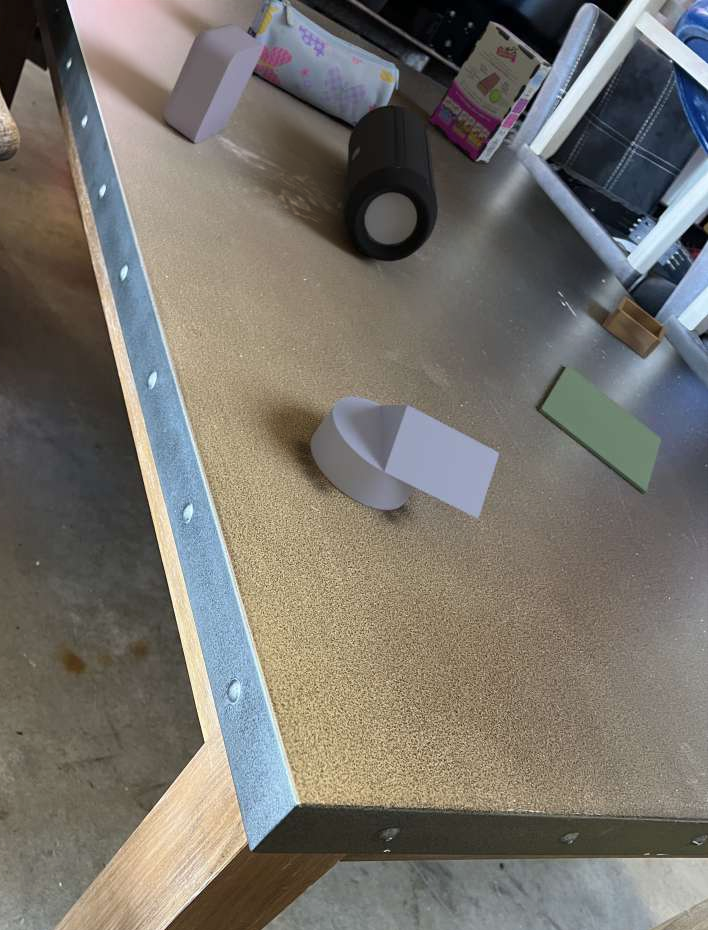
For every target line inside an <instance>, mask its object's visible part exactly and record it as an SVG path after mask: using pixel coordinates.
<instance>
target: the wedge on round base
mask: <svg viewBox="0 0 708 930" xmlns="http://www.w3.org/2000/svg"><path fill="white" fill-rule="evenodd" d="M310 452H311V456H312V458H313V460H314V462H315V464H316V465H317V468H318V469H319V470H320V472H321V473H322V475H324V476H325V478H326V479H327V480H328V481H329V482H330V483H331V484H332V485H333V486H334V487H335V488H337V489H338V491H340V492H341V493H343V494H344V495H345V496H346V497H349V498H350V499H352V500H353V501H356V502H358V503H359V504H362V505H364V506H366V507H369V508H372V509H376V510H382V511H391V510H392V511H393V510H396V509H399V508H400V507H402V506H403V505H404V504H405V503H406V501H407V500H408V499H409V498H410V497H411V496H412V494H413V493H414V492H415V490H416V489H417V490H419V491H422V492H424V493H426V494H428V495H430V496H432V497H434V498H436V499H438V500H439V501H441V502H444V503H445V504H448V505H450V506H452V507H454V508H456V509H458V510H460V511H462V512H464V513H465V514H468V515H470V516H472V517H474V518H476V519H479V518H480V515H481V512H482V509H483V506H484V502H485V499H486V496H487V493H488V490H489V487H490V484H491V481H492V478H493V475H494V472H495V468H496V465H497V463H498V459H499V456H500V452H499V451H496V450H494V449H492V448H491V447H489V446H487V445H485V444H483V443H481V442H480V441H478V440H476V439H473V438H472V437H470V436H468V435H466V434H464V433H462V432H461V431H458V430H456V429H455V428H453V427H451V426H449V425H447V424H445V423H443V422H441V421H439V420H437V419H436V418H434V417H432V416H430V415H429V414H426V413H424V412H423V411H420V410H419V409H417V408H414V407H413V406H411V405H409V404H385V405H383V404H382V405H381V404H380V403H378V402H375V401H373V400H370V399H367V398H364V397H360V396H345V397H342V398H339V399H338V400H337V401H336V402H335V403H334V405H332V407H331V409H330V410H329V412H328V413H327V414H326V416H325V417H324V419H323V420H322V422H321V423H320V424H319V426H318V427H317V429H316V430H315V432H313V435H312V436H311V438H310ZM374 506H375V507H374ZM378 507H379V508H378ZM385 508H386V509H385ZM390 508H391V509H390Z"/></svg>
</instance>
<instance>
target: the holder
mask: <svg viewBox="0 0 708 930" xmlns="http://www.w3.org/2000/svg"><path fill="white" fill-rule="evenodd" d="M601 327H602V328H604V329H606V330H607V331H608V332H609V333H610V334H612V335H613V336H614V337H616V338H617V339H618V340H620V341H621V342H622V343H624V345H626V346H627V347H628V348H630V349H631V350H633V352H634V353H636V354H637V355H638V356H640V357H641V358H642V359H644V360H646V359H647V358H648V357H649V356H650V355H651V354H652V353H653V352H654V350H656V348H658V346H659V345H661V343H662V342H663V338H664V336H665V333H666V330H667V327H666V326H664V325H663V323H661V322H660V321H658V320H657V319H656V318H654V317H653V316H652V315H650V314H649V313H648V312H647V311H645V310H644V309H643V308H642V307H640V306H639V305H637V303H635V302H634V301H633V300H632V299H630V298H628V296H626V295H623V296H622V298H620V300H619V301H618V302H617V303H616V305H615V306H614V307H613V308H612V309H611V310H610V312H609V313H608V315H607V316H606V318H605V320H604V322H603V323H602V325H601Z"/></svg>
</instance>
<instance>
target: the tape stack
mask: <svg viewBox="0 0 708 930" xmlns="http://www.w3.org/2000/svg"><path fill="white" fill-rule="evenodd" d="M703 230H704V231H705V233H707V235H708V222H706V224H704V226H703Z"/></svg>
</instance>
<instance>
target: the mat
mask: <svg viewBox="0 0 708 930" xmlns="http://www.w3.org/2000/svg"><path fill="white" fill-rule="evenodd" d="M538 412H540V413H541V415H543V416H544V417H546V418H547V419H548V420H549V421H551V422H552V423H553V424H555V425H556V426H557V427H559V428H560V429H561V430H562V431H564V432H565V434H567V435H568V436H570V437H571V438H572V439H573V440H575V441H576V442H577V443H578V444H580V445H581V446H582V447H584V448H585V449H586V450H588V452H590V453H591V454H592V455H594V456H595V457H596V458H598V459H599V460H600V461H602V463H604V464H605V465H606V466H608V467H609V468H610V469H611V470H612V471H614V472H615V473H616V474H618V475H619V476H621V478H623V479H624V480H625V481H627V482H628V483H629V484H630V485H632V486H633V487H634V488H636V489H637V490H638V491H640V492H641V494H643V495H645V494H646V493H647V491H648V488H649V485H650V481H651V477H652V474H653V471H654V467H655V463H656V460H657V456H658V453H659V450H660V446H661V443H662V437H661V436H659V435H658V434H657V433H655V432H654V431H653V430H652V429H650V428H649V427H648V426H646V425H645V424H644V423H643V422H641V421H640V420H639V419H637V418H636V417H635V416H633V414H631V413H630V412H629V411H627V410H626V409H624V407H622V405H619V404H618V403H617V402H616V401H615V400H614V399H612V398H611V397H609V396H608V395H607V394H606V393H604V392H603V391H602V390H601V389H600V388H598V387H597V386H596V385H594V384H593V383H592V382H591V381H589V380H588V379H587V378H585V377H584V376H582V375H581V374H580V373H579V372H578V371H576V370H575V369H574V368H572V367H571V366H570V365H568V364H567V365H566V366H565V367H564V369H563V371H562V372H561V374H560V375H559V377H558V379H557V381H556V382H555V384H554V385H553V387H552V389H551V390H550V391H549V394H548V395H547V397H546V399H545V400H544V402H543V403H542V405H541V406H540V408H539V410H538Z"/></svg>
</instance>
